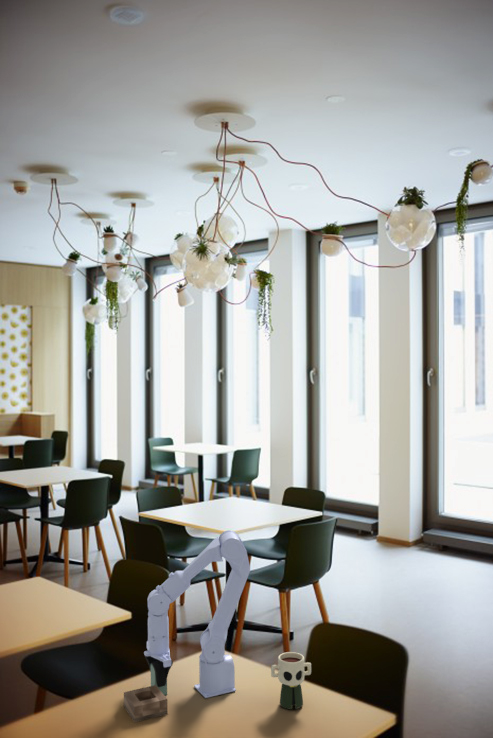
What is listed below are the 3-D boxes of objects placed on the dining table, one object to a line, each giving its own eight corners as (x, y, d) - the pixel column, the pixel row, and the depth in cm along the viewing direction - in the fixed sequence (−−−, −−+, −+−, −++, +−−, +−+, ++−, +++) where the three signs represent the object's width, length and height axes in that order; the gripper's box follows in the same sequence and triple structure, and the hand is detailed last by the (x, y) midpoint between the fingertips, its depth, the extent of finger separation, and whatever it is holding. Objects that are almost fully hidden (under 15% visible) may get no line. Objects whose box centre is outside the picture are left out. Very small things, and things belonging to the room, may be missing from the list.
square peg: (162, 689, 204) (162, 661, 204) (167, 694, 201) (166, 666, 201) (150, 692, 202) (150, 663, 202) (155, 697, 199) (154, 668, 199)
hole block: (155, 699, 198) (155, 685, 198) (167, 714, 190) (167, 699, 190) (123, 707, 194) (123, 692, 194) (134, 722, 186) (134, 706, 186)
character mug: (273, 713, 190) (273, 664, 190) (268, 700, 197) (268, 653, 197) (314, 710, 191) (314, 661, 191) (308, 697, 199) (308, 650, 198)
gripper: (136, 628, 206) (136, 675, 206) (153, 646, 193) (154, 697, 193) (159, 623, 209) (160, 670, 209) (178, 641, 196) (178, 691, 196)
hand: (158, 682), depth 202 cm, fingers closed on square peg, 3 cm apart
